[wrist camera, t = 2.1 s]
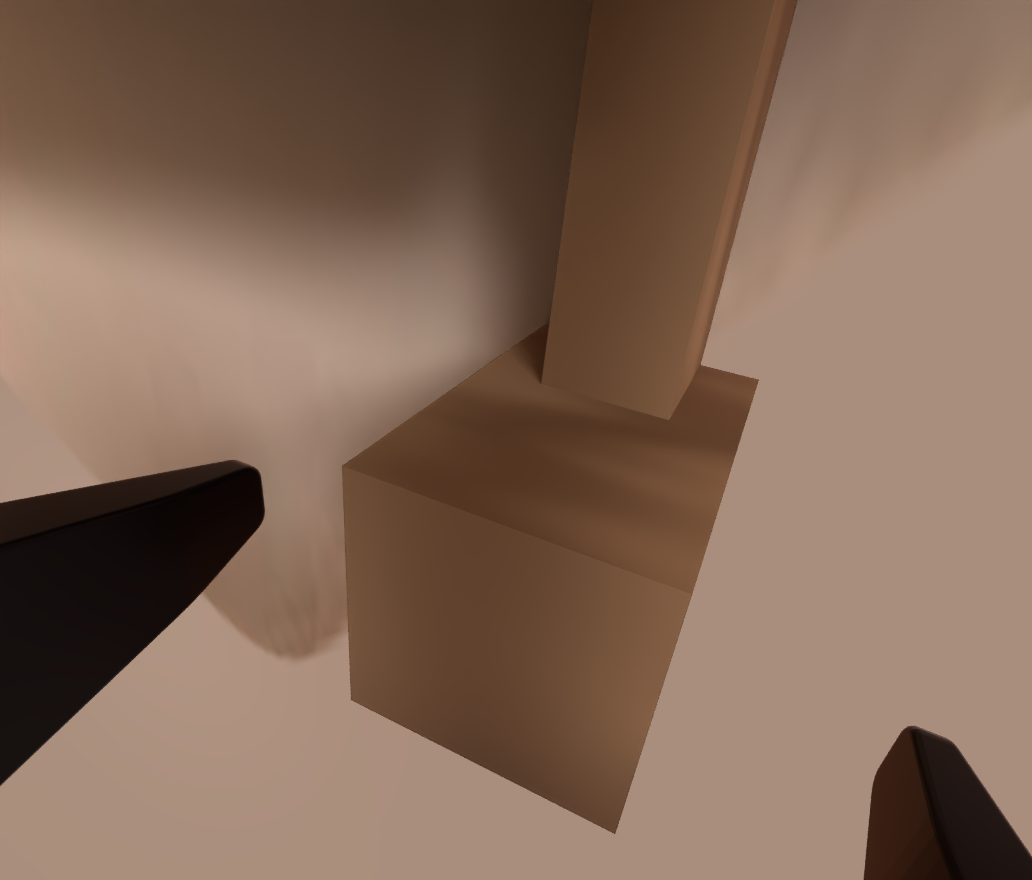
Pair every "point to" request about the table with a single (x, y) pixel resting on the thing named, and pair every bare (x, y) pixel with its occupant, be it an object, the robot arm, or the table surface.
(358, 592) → the pusher tool
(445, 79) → the table surface
